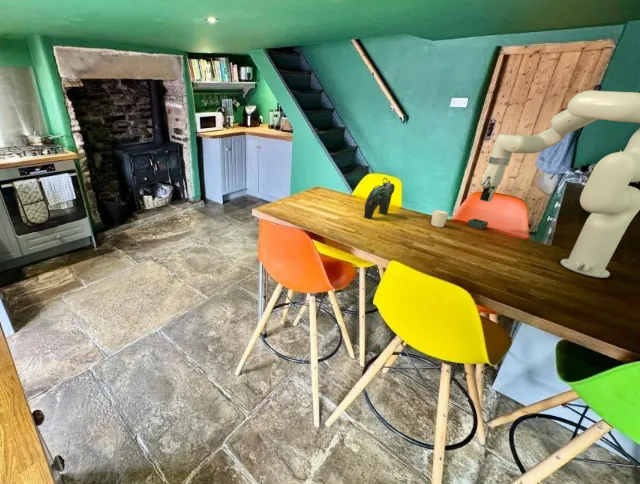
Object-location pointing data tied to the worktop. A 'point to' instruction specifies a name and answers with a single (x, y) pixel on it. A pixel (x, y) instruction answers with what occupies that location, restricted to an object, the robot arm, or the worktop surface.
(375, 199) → the dark green arched piece
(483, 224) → the dark square tray
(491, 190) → the peg
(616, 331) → the worktop surface
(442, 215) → the cream cup
